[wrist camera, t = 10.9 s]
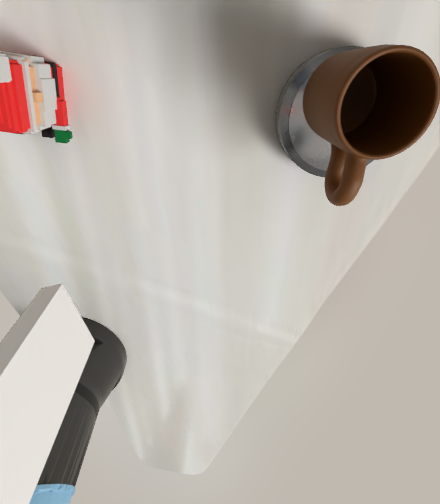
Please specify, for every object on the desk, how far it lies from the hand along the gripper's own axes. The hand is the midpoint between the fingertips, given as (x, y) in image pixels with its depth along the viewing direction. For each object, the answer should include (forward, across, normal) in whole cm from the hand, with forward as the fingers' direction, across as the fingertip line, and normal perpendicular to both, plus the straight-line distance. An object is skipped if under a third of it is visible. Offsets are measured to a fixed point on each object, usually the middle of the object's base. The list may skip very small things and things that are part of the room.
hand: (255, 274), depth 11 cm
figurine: (+28, -17, +8) cm, 34 cm away
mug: (+24, +11, 0) cm, 27 cm away
